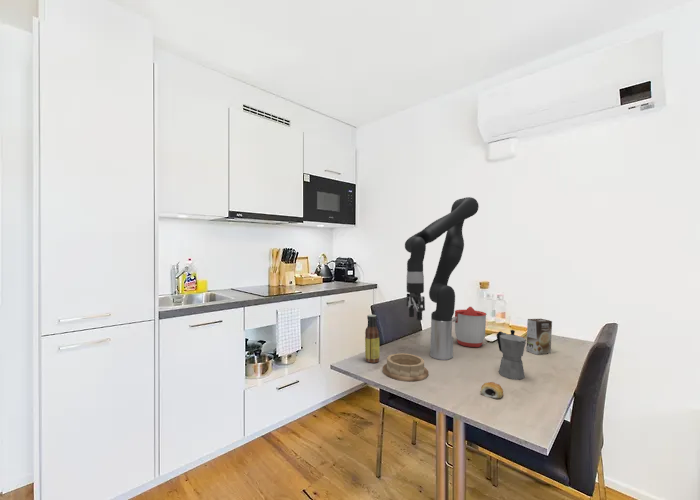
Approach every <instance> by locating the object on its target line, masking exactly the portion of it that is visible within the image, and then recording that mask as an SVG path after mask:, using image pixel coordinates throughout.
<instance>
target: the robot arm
mask: <svg viewBox="0 0 700 500" xmlns="http://www.w3.org/2000/svg"><path fill="white" fill-rule="evenodd" d="M479 208H480V206H479V202H478V201H477V199H475V198H474V197H471V196H470V197H468V196H467V197H462V198H459V199H456V200H455V201H454V202H453V203H452V205H451V209H450V212H449V213H447V214H446V215H444V216H441V217H440V218H438V219H436V220H434V221H432V222H431V223H430V224H428V225H427V226H426V227H425V228H423V229H422V230H420V231H419V232H416V233H415V234H413V235H411V237H409V238H407V240H406V241H405V242H404V249H405V250H406V252H408V253H410V255H409V258H408V259H407V262H406V293H407V294H406V307H407V308H408V317H409V318H414V317H415V309H416V320H417V321H422V320H423V312H424V311H426V304H425V303H426V301H425V300H426V299H425V295H424V296H422V295H421V294H423V293H424V292H425V290H424V289H425V285H424V284H425V280H424V279H425V277H424V259H425V257H426V256H425V255H426V251H427V250H426V249H427V248H426V247H427V244H430V243H433V242H434V241H435V240H437V239H438V238H439V237H441V236H443V234H446V235H445V239H444V241H443V246H442V249H441V253H440V257H439V261H438V264H437V268H436V272H435V275H434V276H433V279H432V282H431V285H430V288H429V291H428V296H429V299H430V301H432V302H433V303H435V305H436V307H435V310H434V311H432V312H431V315H430V316H431V317H430V320H431V321H430V347H429V348H430V349H429V350H430V352H429V353H430V354H429V355H430V357H431V358H433V359H435V360H442V361H444V360H445V361H447V360H450V359H453V358H454V336H452V334H453V331H452V329H453V322H452V318H453V317H454V315H455V307H456V306H455V305H456V293H455V290H454V288H453V287H452V286H450V285H449V280H450V277H451V275H452V273H453V272H454V270H455V269H456V268H457V266H458V265H459V263H460V261H461V259H462V257H463V252H464V248H465V240H464V236H463V235H464V234H463V228H464V227H463V226H464V223H465V220H466V219H469V218H470V217H473V216H475V215H476V214H477V212H478V211H479Z"/></svg>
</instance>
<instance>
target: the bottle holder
mask: <svg viewBox="0 0 700 500" xmlns="http://www.w3.org/2000/svg"><path fill="white" fill-rule="evenodd" d="M382 373H383V374H384V375H385V376H386V377H388V378H390V379H394V380H397V381H401V382H420V381H423V380H426V379H427V378H428V377H429V369H428V368H427V367H425V360H424V358H422V357H420V356H418V355H417V354H412V353H411V354H410V353H402V352H401V353H392V354H389V355H388V356H387V358H386V363H385V364H384V365H383V366H382Z"/></svg>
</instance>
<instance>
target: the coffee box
mask: <svg viewBox="0 0 700 500" xmlns="http://www.w3.org/2000/svg"><path fill="white" fill-rule="evenodd" d="M526 327H527V328H526V346H525V349H526V350H525V351H526V352H528V351H529V352H528V353H531V354H533V353H534V355H537V356H538V354H540V355H548V354H547V353H551V354H552V331H553V330H552V329H553V328H552V327H553V321H552V320H550V319H546V318H545V319H543V318H527V325H526Z"/></svg>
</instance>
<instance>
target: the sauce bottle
mask: <svg viewBox="0 0 700 500" xmlns="http://www.w3.org/2000/svg"><path fill="white" fill-rule="evenodd" d="M366 317H367V327H366V328H365V332H364V334H365V336H364V340H365V342H364V349H365V352H364V353H365V354H364V355H365V356H364V357H365V361H366V362H367V363H370V364H372V363H373V364H375V363H379V362H380V357H381V356H380V355H381V354H380V331H379V329H378V325H377V318H378V317H377V315H376V314H368V315H367V316H366Z"/></svg>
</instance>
